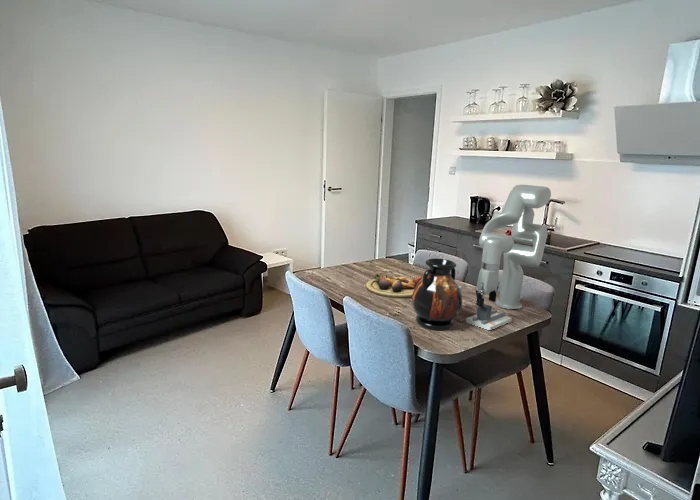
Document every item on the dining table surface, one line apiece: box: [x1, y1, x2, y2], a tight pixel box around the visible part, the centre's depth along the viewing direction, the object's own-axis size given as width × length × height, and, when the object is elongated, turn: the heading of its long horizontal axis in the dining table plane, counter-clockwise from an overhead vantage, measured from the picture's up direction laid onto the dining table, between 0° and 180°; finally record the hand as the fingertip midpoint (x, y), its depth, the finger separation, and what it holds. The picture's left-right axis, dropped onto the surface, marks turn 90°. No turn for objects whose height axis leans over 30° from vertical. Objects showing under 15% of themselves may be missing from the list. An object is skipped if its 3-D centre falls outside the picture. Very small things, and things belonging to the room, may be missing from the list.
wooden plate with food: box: [365, 272, 423, 299], centre depth 232 cm, size 32×32×8 cm
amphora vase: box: [411, 258, 463, 331], centre depth 185 cm, size 22×22×28 cm
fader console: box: [465, 309, 513, 331], centre depth 192 cm, size 18×12×3 cm, turn 131°
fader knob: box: [476, 303, 493, 321], centre depth 188 cm, size 3×5×7 cm, turn 41°
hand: (485, 303), depth 187 cm, fingers open, 9 cm apart
